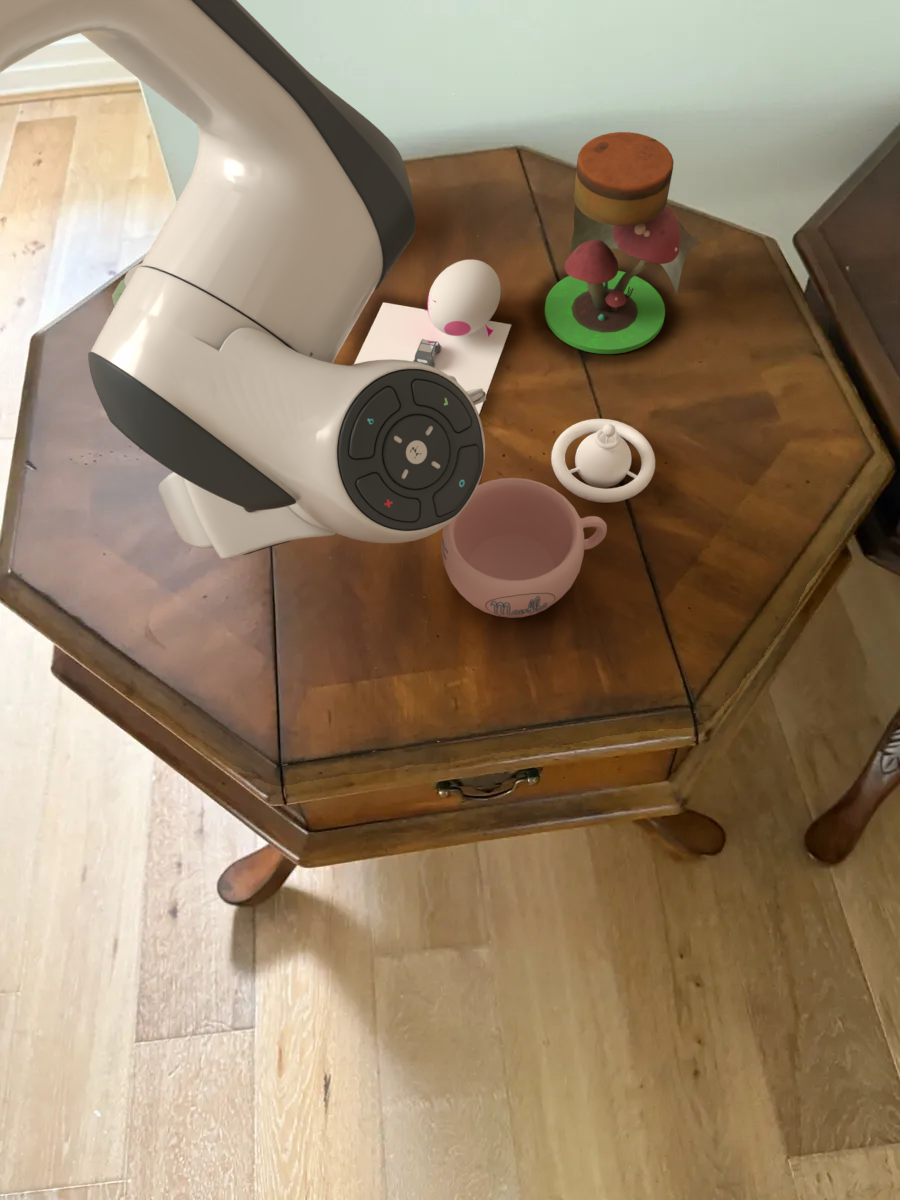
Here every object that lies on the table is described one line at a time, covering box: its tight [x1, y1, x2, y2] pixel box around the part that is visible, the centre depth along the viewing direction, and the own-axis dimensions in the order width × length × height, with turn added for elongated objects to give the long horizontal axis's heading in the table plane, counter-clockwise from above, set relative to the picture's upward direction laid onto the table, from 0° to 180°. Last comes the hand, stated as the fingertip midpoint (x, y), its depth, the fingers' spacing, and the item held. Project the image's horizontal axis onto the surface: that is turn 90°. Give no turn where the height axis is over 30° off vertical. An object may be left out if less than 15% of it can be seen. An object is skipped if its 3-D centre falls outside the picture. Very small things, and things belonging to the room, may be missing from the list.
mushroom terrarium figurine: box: [544, 131, 702, 355], centre depth 80 cm, size 12×13×15 cm
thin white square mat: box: [353, 302, 512, 415], centre depth 83 cm, size 12×12×2 cm
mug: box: [440, 477, 608, 619], centre depth 69 cm, size 12×10×6 cm
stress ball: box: [421, 257, 502, 337], centre depth 84 cm, size 8×8×7 cm
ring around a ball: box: [550, 418, 656, 504], centre depth 74 cm, size 8×6×8 cm
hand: (299, 455), depth 69 cm, fingers open, 8 cm apart
